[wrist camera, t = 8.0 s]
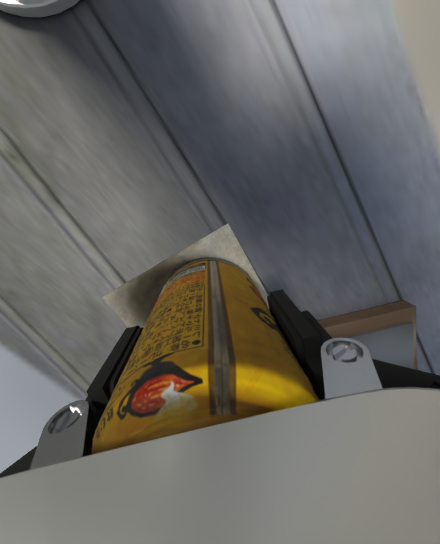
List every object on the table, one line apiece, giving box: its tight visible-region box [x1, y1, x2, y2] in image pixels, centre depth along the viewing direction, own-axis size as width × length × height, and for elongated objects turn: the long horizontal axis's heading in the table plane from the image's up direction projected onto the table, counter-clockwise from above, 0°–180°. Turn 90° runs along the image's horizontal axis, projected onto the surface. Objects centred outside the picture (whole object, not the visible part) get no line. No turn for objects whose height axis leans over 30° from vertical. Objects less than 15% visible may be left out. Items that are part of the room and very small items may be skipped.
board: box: [318, 300, 417, 370], centre depth 25 cm, size 14×24×2 cm, turn 104°
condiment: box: [92, 224, 320, 454], centre depth 9 cm, size 7×8×12 cm
